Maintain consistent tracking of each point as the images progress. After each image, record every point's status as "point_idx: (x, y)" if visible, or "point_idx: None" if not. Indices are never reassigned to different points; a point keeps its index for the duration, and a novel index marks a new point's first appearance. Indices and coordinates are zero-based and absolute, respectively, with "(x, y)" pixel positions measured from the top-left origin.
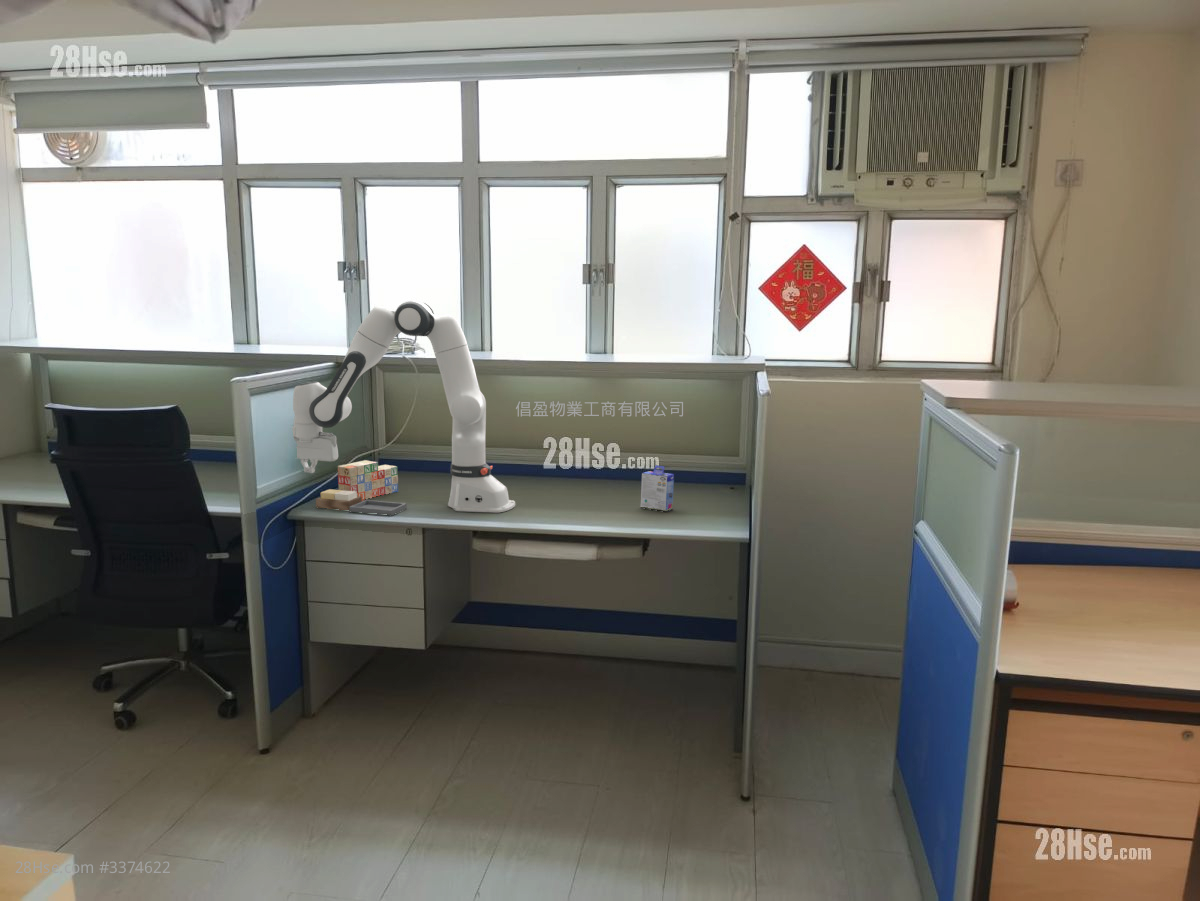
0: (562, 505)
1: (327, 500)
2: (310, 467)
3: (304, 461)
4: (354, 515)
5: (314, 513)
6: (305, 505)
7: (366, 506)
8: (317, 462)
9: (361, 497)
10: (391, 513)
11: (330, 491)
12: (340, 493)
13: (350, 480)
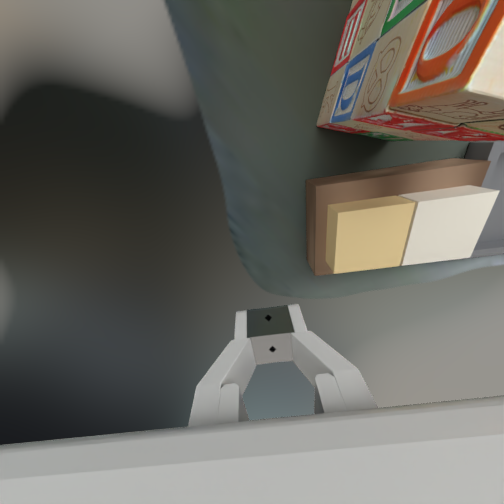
0: None
1: None
2: (299, 362)
3: (248, 420)
4: (459, 269)
5: (336, 297)
6: (252, 248)
7: (488, 187)
8: (354, 367)
9: (486, 162)
10: None
11: (366, 244)
12: (427, 253)
13: (498, 138)
